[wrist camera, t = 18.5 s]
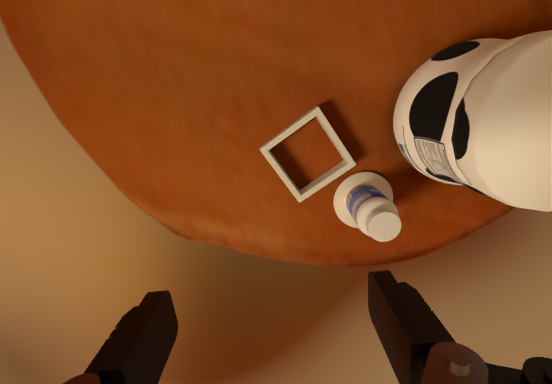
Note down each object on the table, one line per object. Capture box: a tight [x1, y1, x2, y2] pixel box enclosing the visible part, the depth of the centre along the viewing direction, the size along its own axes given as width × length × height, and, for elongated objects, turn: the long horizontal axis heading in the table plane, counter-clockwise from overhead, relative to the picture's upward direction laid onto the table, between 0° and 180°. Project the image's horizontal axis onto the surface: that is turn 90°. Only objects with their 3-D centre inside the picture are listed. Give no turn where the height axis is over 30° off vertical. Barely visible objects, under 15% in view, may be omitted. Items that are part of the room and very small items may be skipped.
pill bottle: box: [346, 184, 401, 242], centre depth 39 cm, size 5×5×10 cm
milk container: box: [393, 30, 552, 212], centre depth 32 cm, size 17×17×18 cm
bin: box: [260, 106, 356, 203], centre depth 41 cm, size 10×10×2 cm
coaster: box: [333, 171, 393, 228], centre depth 44 cm, size 9×9×1 cm
